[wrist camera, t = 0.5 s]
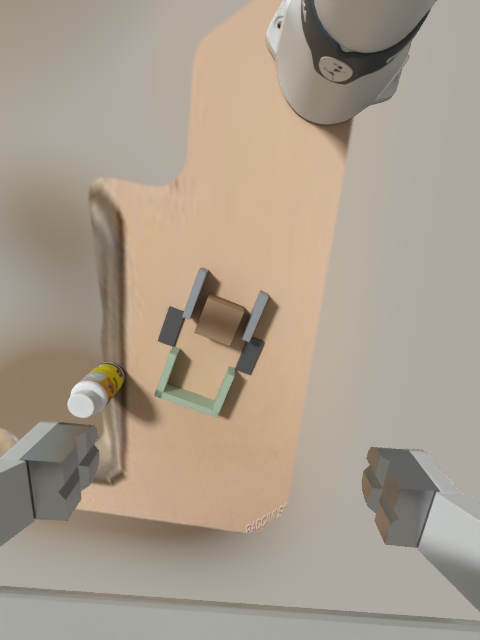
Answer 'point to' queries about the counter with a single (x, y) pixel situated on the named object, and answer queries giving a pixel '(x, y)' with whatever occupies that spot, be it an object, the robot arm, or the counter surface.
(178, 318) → the trap channel
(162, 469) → the counter surface
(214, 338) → the walnut block
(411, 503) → the robot arm
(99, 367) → the supplement bottle
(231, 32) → the counter surface
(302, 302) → the counter surface
